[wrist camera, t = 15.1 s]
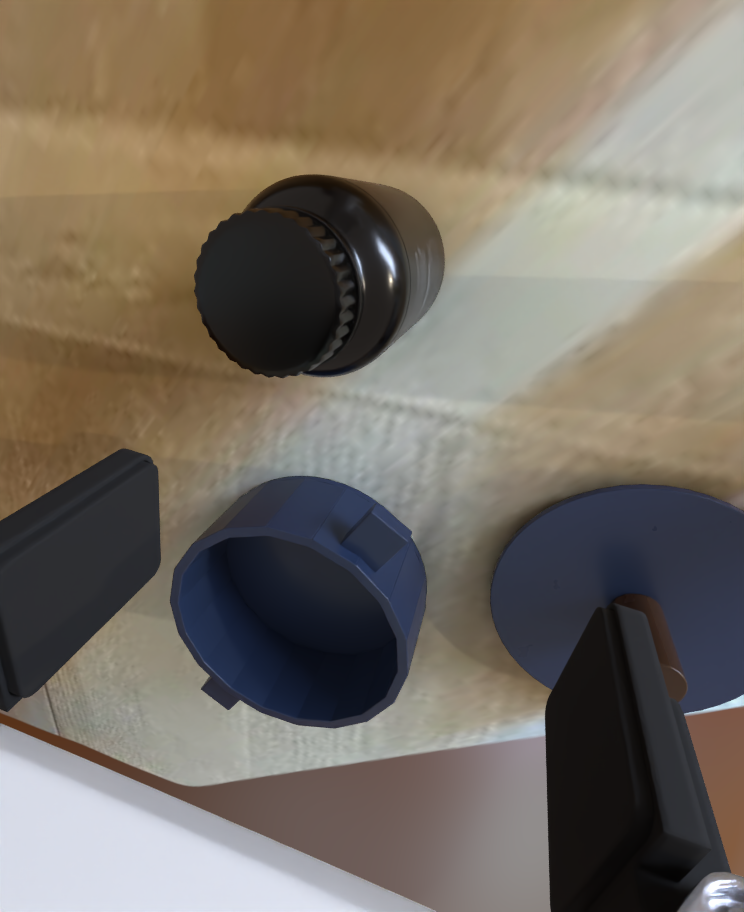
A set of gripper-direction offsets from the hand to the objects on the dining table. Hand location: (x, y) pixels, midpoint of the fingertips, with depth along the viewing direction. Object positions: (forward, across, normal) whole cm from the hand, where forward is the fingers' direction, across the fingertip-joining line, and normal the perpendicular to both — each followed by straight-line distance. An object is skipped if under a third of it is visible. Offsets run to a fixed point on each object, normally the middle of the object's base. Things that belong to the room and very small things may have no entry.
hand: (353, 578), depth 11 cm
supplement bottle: (+18, +5, -3) cm, 19 cm away
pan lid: (+17, -13, +11) cm, 24 cm away
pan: (+18, +5, +16) cm, 25 cm away
